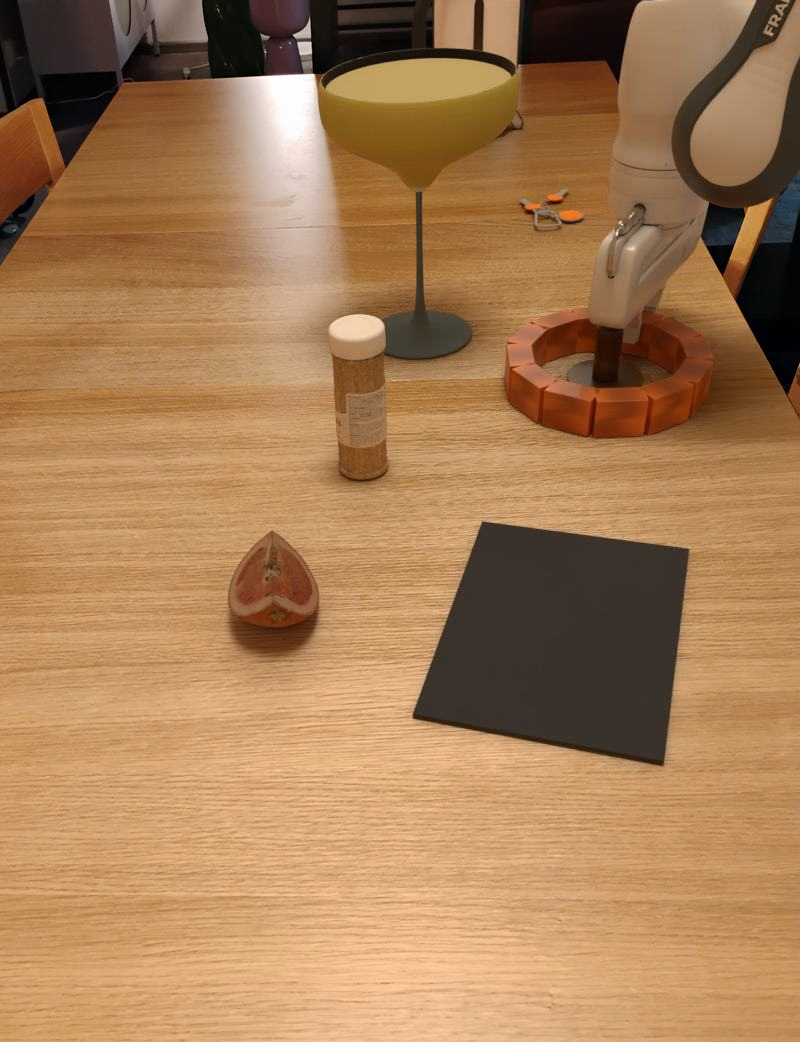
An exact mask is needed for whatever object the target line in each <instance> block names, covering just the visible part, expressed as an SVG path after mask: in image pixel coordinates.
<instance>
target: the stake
mask: <svg viewBox="0 0 800 1042" xmlns="http://www.w3.org/2000/svg"><path fill="white" fill-rule="evenodd" d="M623 334H624V328H623V329H616V328H610V327H605V326H600V325H598V326H597V334H596V343H595V352H593V353H594V354H593V359H589V360H584V361H580V362H578V363H576V364H574V365H573V366H571V367H570V368H569V370H568V371H567V373H566V380H565V381H568V382H572V383H576V384H581V385H585V386H589V387H594V388H623V387H641V386H643V383H644V382H643V381H644V377H643V376H644V375H643V373H642V372H641V370H640V369H639V368H638V367H636V366H634V365H633V364H631V363H628V362H626V361H623V360H621V356H622V353H621V349H622V342H623Z"/></svg>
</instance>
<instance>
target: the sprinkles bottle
mask: <svg viewBox="0 0 800 1042" xmlns="http://www.w3.org/2000/svg"><path fill="white" fill-rule="evenodd" d="M381 320H382V319H380V318H378V317H376V316H374V315H369V314H364V313H363V314H360V313H359V314H349V315H345V316H342V317H339V318H337V319H336V320H334V321H333V322H331V323H330V324H329V327H328V329H327V333H328V335H327V337H328V347H329V351H330V355H331V356H332V372H333V375H332V376H333V387H334V388H333V400H334V414H335V417H334V418H335V431H336V432H335V433H336V438H337V447H338V448H337V449H338V461H337V466H338V470H339V471H340V473H341V474H342V476H344V477H347V478H349V479H351V480H363V481H364V480H371V479H375V478H377V477H380V476H382V475H383V474H384V473H385V472H386V471H387V470H388V468H389V465H390V464H389V462H390V461H389V457H388V448H387V435H388V421H387V420H388V419H387V418H388V417H387V416H388V415H387V413H388V412H387V388H386V387H387V386H386V385H387V384H386V383H387V382H386V378H385V377H386V375H385V354H384V352H385V349H384V348H385V346H386V337H385V326H384V323H383V322H382V321H381Z"/></svg>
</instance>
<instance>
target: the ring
mask: <svg viewBox="0 0 800 1042" xmlns="http://www.w3.org/2000/svg"><path fill="white" fill-rule="evenodd" d="M641 321H643V322H644V326H643V331H642V336H641V337H640V339H639V340H638V341H637V342H636V343H635V344H629V343H624V342H622V349H621V354H624V355H628V356H629V355H630V356H635V357H639V358H643V359H647V360H649V361H651V362H653V363H654V364H656V365H658V366H660V367H661V368H663V369H665V370H666V371H668V372H670V373H671V374H672V375H670V376H667V377H664V378H661V379H659V380H655V381H653V382H650V383H647V384H645V385H642V386H641V387H623V388H594V387H589V386H585V385H581V384H576V383H572V382H568V381H566V380H563V379H559V378H558V377H556V376H555V375H553V374H552V373H550V372H549V371H548V370H546V369H544V368H543V367H542V366H544V365H545V364H546V363H548V362H551V361H554V360H557V359H561V358H564V357H566V356H570V355H573V354H575V353H594V352H595V343H596V334H597V326H598V325H596V324H593V323H591V322H590V320H589V317H588V307H579V308H576V307H575V308H571V310H569V309H564V310H561V311H557V312H554V313H551V314H548V315H545V316H541V317H538V318H535V319H532V320H530V322H526V323H525V324H524V325H522V327H521V328H519V330H518V331H517V332H516V333H514V334H513V335H512V336H511V337H510V338H509V339H508V340H507V342H506V344H505V360H504V376H503V377H504V378H503V379H504V385H505V391H506V399H507V401H509V404H510V405H511V406H513V407H514V408H515V409H517V410H518V411H520V412H521V413H522V414H524V415H525V416H526V417H528V418H529V419H530V420H532V422H534V423H536V424H539V423H541V426H542V427H546V428H549V429H550V428H551V429H554V430H558V431H562V432H566V433H570V434H574V435H577V436H581V437H586V438H587V437H588V436H589V435H590V434H591V435H592V438H593V439H594V438H595V439H596V438H625V437H643V436H644V435H645V434H647V435H648V436H650V435H653V434H655V433H659V432H661V431H663V430H667V429H670V428H672V427H675V426H677V425H680V424H683V423H686V422H688V421H689V419H692V418H693V417H694V415H695V414H696V412H697V411H698V410H699V409H700V407H701V406H702V405H703V403H704V402H705V400H706V399H707V397H708V395H709V390H710V384H711V379H712V374H713V370H714V366H715V356H714V354H713V351H712V350H711V348H710V345H709V343H708V341H707V339H706V337H705V336H702V333H701V332H700V331H698V330H696V329H694V328H692V327H690V326H688V325H687V324H684V323H683V322H681V321H679V320H677V319H675V318H673V317H672V316H667V317H666V315H665V314H662V313H657V314H656V313H650V312H645V311H642V318H641Z"/></svg>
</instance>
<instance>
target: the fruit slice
mask: <svg viewBox="0 0 800 1042" xmlns="http://www.w3.org/2000/svg"><path fill="white" fill-rule="evenodd" d="M227 604H228V608H229V611H230V612H231V613H232V614H233V615H235V617H237V618H238V619H241V620H242V621H245V622H248V623H249V624H252V625H256V626H259V627H267V628H286V627H288V626H293V625H296V624H299V623H301V622H304V621H305V620H306V619H308V618H310V617H311V616H312V615H313V614H314V613H315V612H316V610H317V608H318V606H319V604H320V591H319V587H318V584H317V581H316V578H315V577H314V575H313V573H312V571H311V570H310V568H309V565H308V563H307V562H306V561H305V559H304V558H303V557H302V555H301V553H299V552H298V551H297V550H296V549H295V548H294V547H293V546H292V545H291V544H290V543H289V542H288V541H287V540H286V539H285V537H282V536H281V535H280V534H278V533H277V532H275V531H274V530H270V531H269V532H268V533H266V534H264V536H263V537H262V538H260V539H259V540H258V541H257V542H256V543H255V544H254V545H253V546H251V548H250V549H249V551H247V552H246V554H245V555H244V556H243V557H242V559H241V560H240V562H239V564H238V565H237V567H236V569H235V571H234V572H233V575H232V578H231V581H230V583H229V587H228V592H227Z"/></svg>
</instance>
